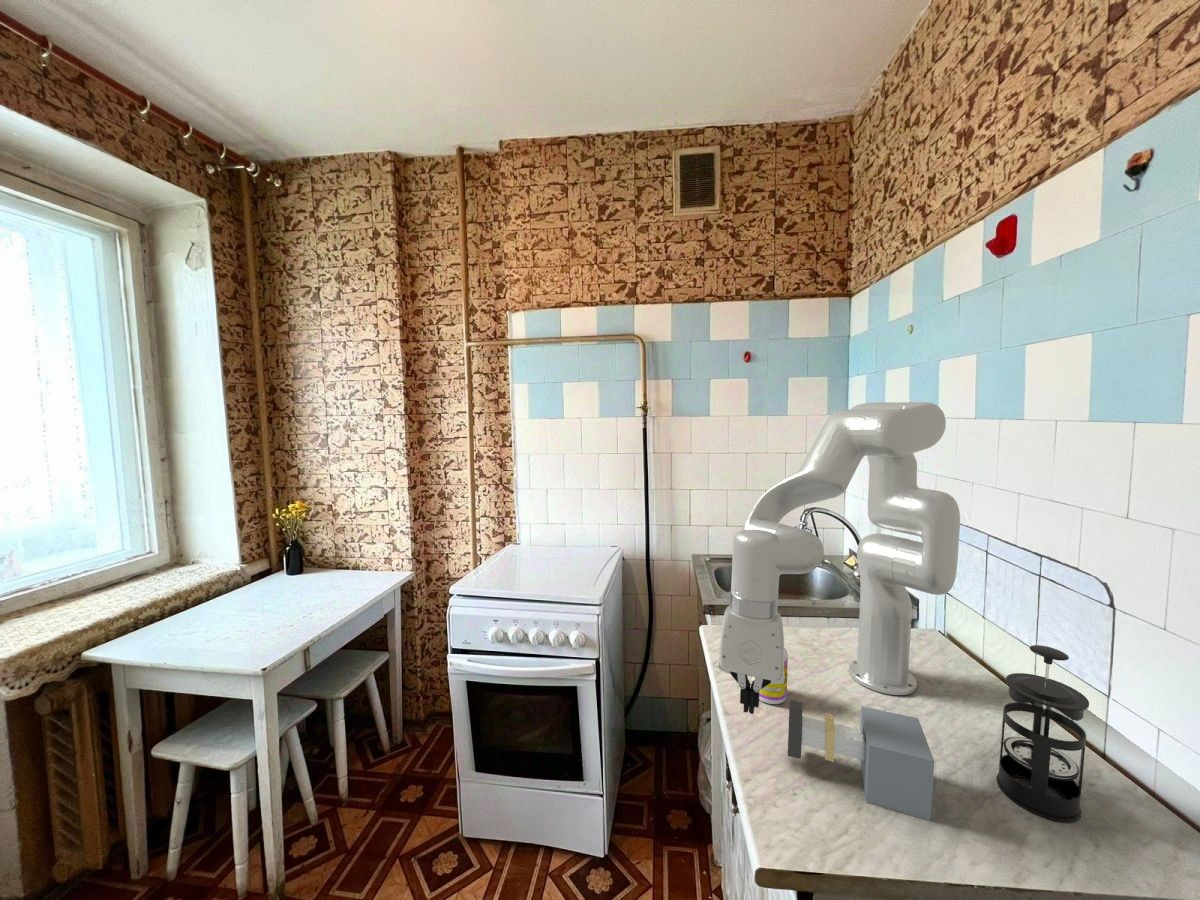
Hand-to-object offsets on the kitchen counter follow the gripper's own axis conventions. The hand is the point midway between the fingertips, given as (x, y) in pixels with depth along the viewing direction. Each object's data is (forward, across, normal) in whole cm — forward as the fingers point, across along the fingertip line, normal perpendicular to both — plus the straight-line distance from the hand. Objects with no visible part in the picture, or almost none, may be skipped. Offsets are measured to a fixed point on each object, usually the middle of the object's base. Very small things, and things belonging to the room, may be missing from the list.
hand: (749, 708), depth 80 cm
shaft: (+5, +14, +1) cm, 14 cm away
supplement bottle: (+7, +2, +18) cm, 19 cm away
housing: (+7, +21, +1) cm, 23 cm away
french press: (+7, +41, +8) cm, 43 cm away
